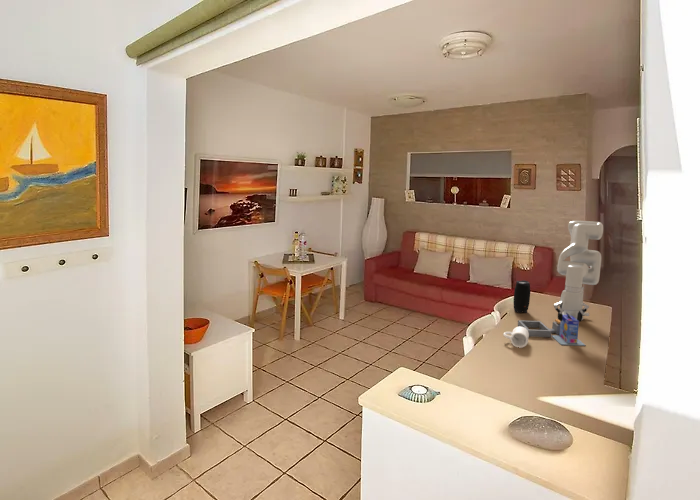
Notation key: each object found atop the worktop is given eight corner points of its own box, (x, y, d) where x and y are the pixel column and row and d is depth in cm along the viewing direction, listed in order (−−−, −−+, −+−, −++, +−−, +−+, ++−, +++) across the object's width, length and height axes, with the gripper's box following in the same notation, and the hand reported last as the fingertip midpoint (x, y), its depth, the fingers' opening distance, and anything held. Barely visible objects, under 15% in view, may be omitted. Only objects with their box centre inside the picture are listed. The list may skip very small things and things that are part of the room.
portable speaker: (529, 314, 257) (532, 283, 254) (513, 312, 260) (516, 282, 256) (527, 310, 266) (530, 280, 262) (511, 308, 268) (514, 279, 264)
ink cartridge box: (558, 336, 221) (561, 310, 219) (569, 336, 221) (571, 310, 218) (566, 343, 211) (569, 316, 209) (577, 343, 211) (580, 316, 208)
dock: (559, 327, 235) (560, 319, 234) (571, 338, 220) (572, 329, 219) (517, 326, 236) (518, 317, 236) (527, 336, 221) (528, 327, 220)
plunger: (562, 329, 230) (563, 319, 229) (565, 332, 225) (566, 322, 224) (554, 329, 230) (555, 319, 229) (557, 332, 226) (558, 322, 224)
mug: (528, 342, 214) (529, 327, 212) (527, 349, 205) (528, 334, 203) (503, 338, 219) (504, 323, 217) (501, 344, 210) (502, 329, 209)
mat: (574, 336, 221) (574, 336, 221) (585, 345, 210) (585, 345, 210) (551, 336, 222) (551, 335, 222) (561, 345, 210) (561, 344, 210)
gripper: (586, 287, 215) (583, 318, 218) (552, 286, 216) (549, 317, 219) (594, 291, 208) (590, 323, 211) (558, 290, 209) (555, 322, 212)
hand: (569, 320), depth 215 cm, fingers open, 9 cm apart
